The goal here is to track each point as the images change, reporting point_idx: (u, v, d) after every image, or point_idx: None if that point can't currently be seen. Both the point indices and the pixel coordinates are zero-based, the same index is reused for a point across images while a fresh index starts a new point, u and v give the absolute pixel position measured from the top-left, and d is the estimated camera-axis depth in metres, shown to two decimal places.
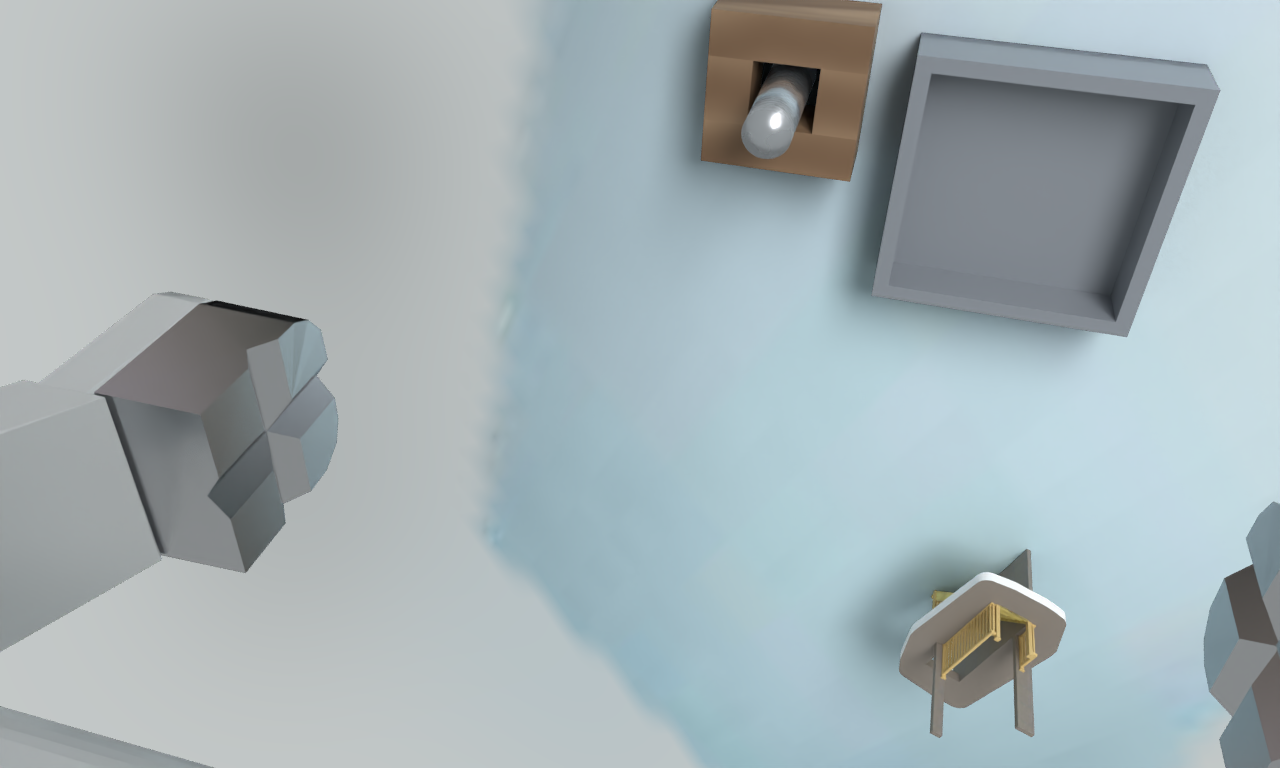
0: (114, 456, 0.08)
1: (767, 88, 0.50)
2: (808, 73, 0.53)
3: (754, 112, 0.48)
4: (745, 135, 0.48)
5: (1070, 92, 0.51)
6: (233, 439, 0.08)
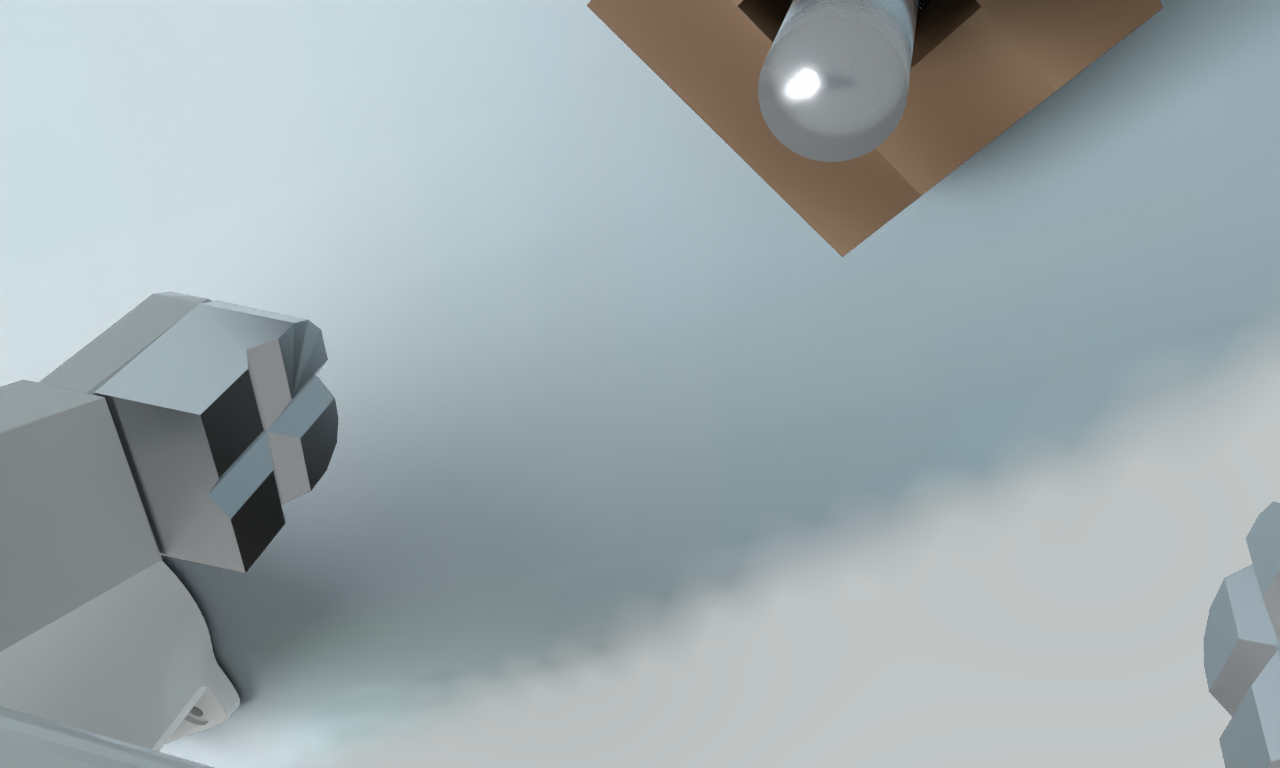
0: (113, 455, 0.08)
1: None
2: None
3: (816, 157, 0.17)
4: (880, 127, 0.17)
5: None
6: (232, 438, 0.08)
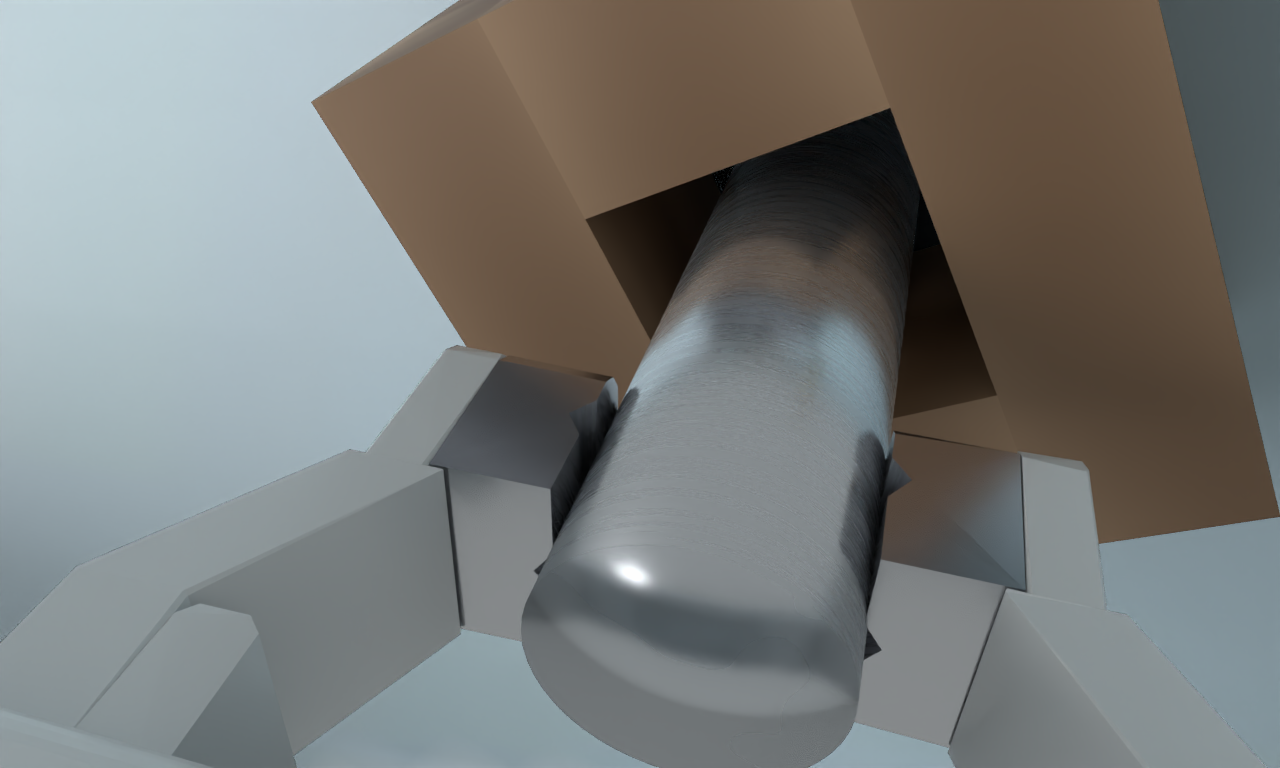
0: (440, 530, 0.08)
1: None
2: (729, 177, 0.12)
3: (612, 734, 0.08)
4: (760, 759, 0.07)
5: None
6: (563, 511, 0.08)
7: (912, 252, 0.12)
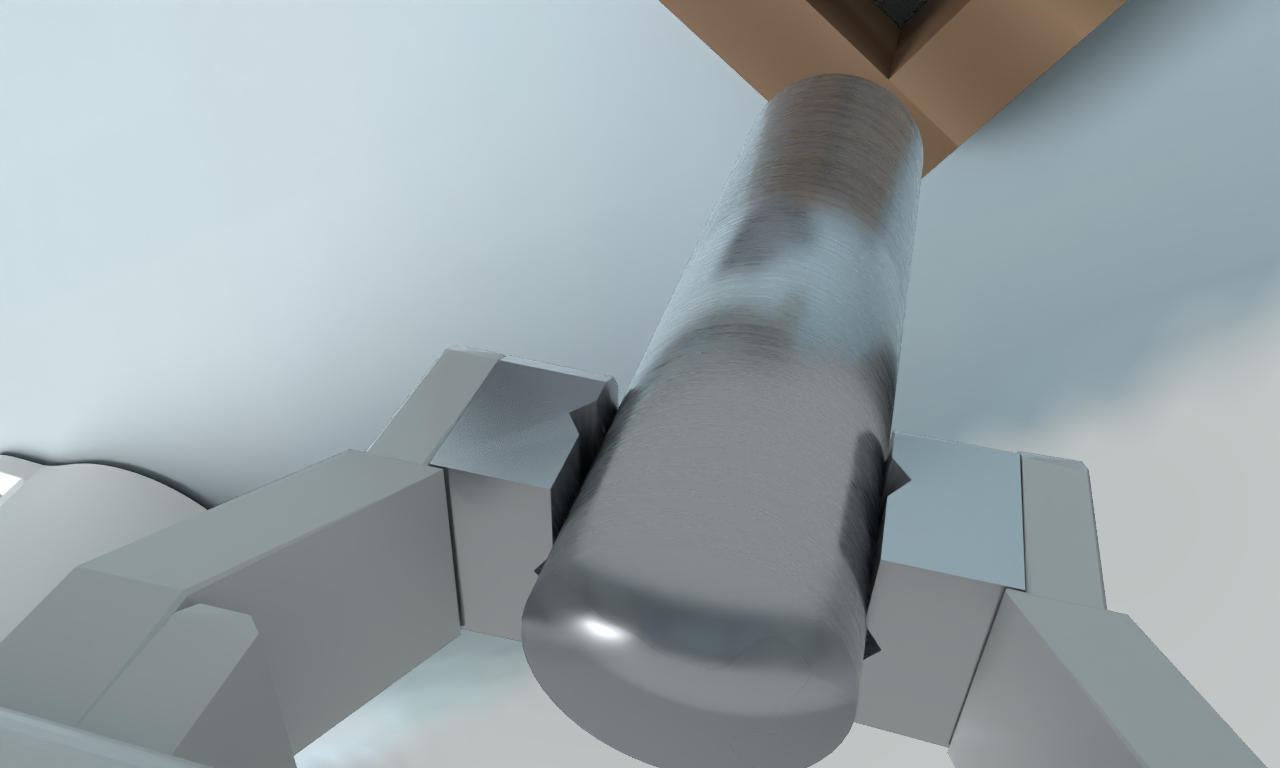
0: (440, 529, 0.08)
1: None
2: None
3: (612, 735, 0.08)
4: (760, 759, 0.07)
5: None
6: (563, 510, 0.08)
7: (911, 252, 0.12)
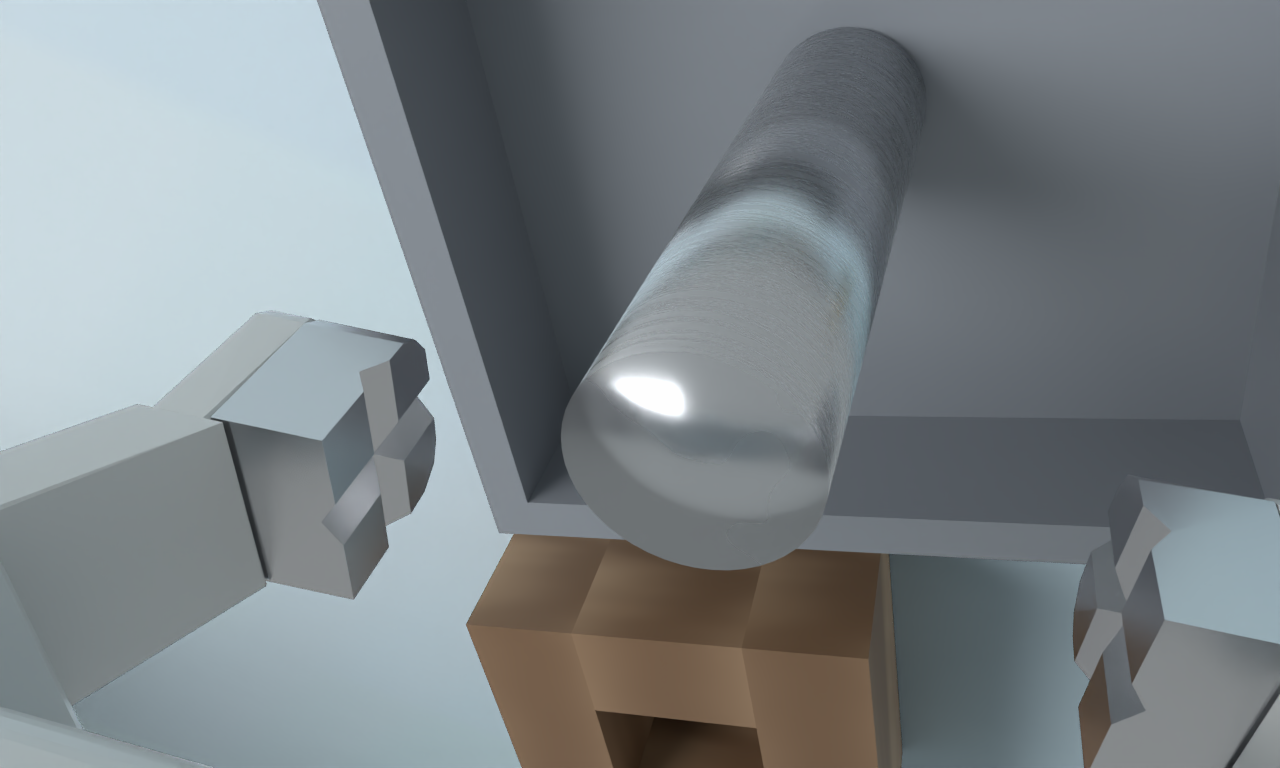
0: (228, 482, 0.08)
1: None
2: None
3: (632, 534, 0.10)
4: (751, 548, 0.09)
5: (544, 74, 0.17)
6: (348, 464, 0.08)
7: (907, 178, 0.13)
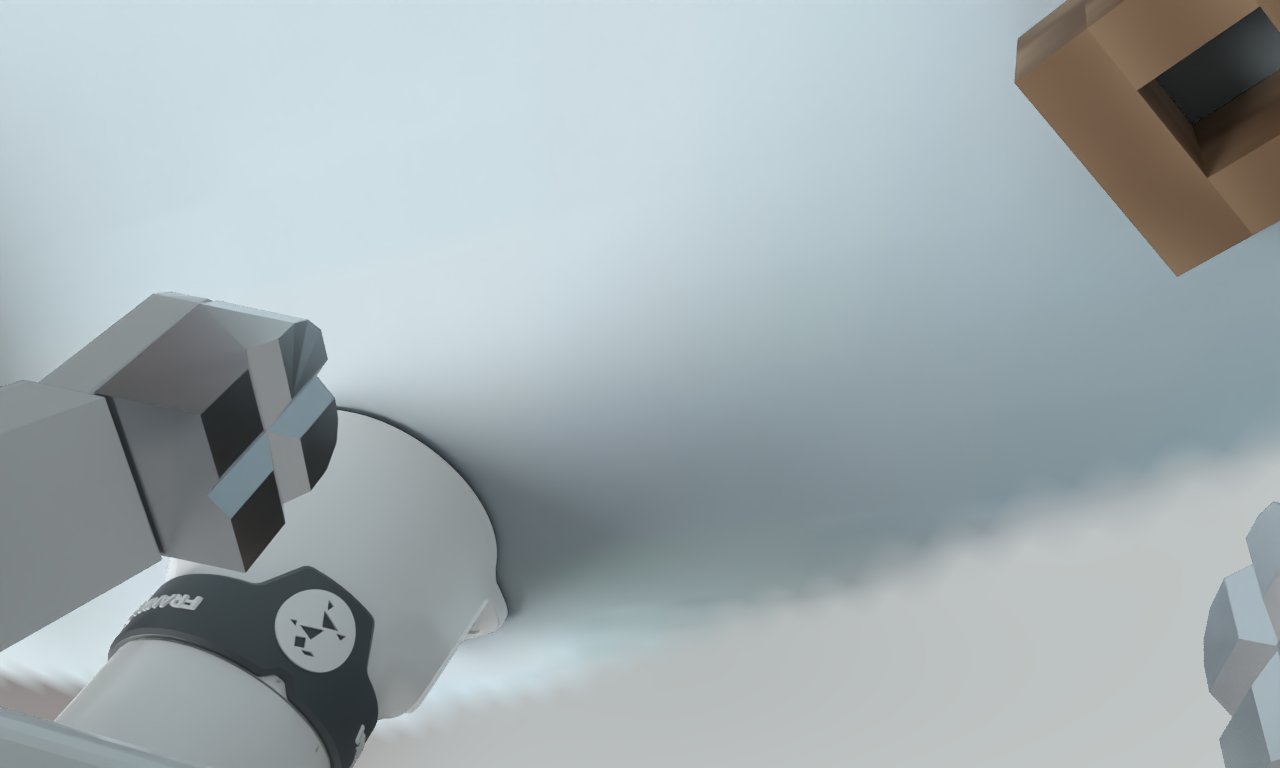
0: (114, 456, 0.08)
1: None
2: None
3: None
4: None
5: None
6: (233, 439, 0.08)
7: None
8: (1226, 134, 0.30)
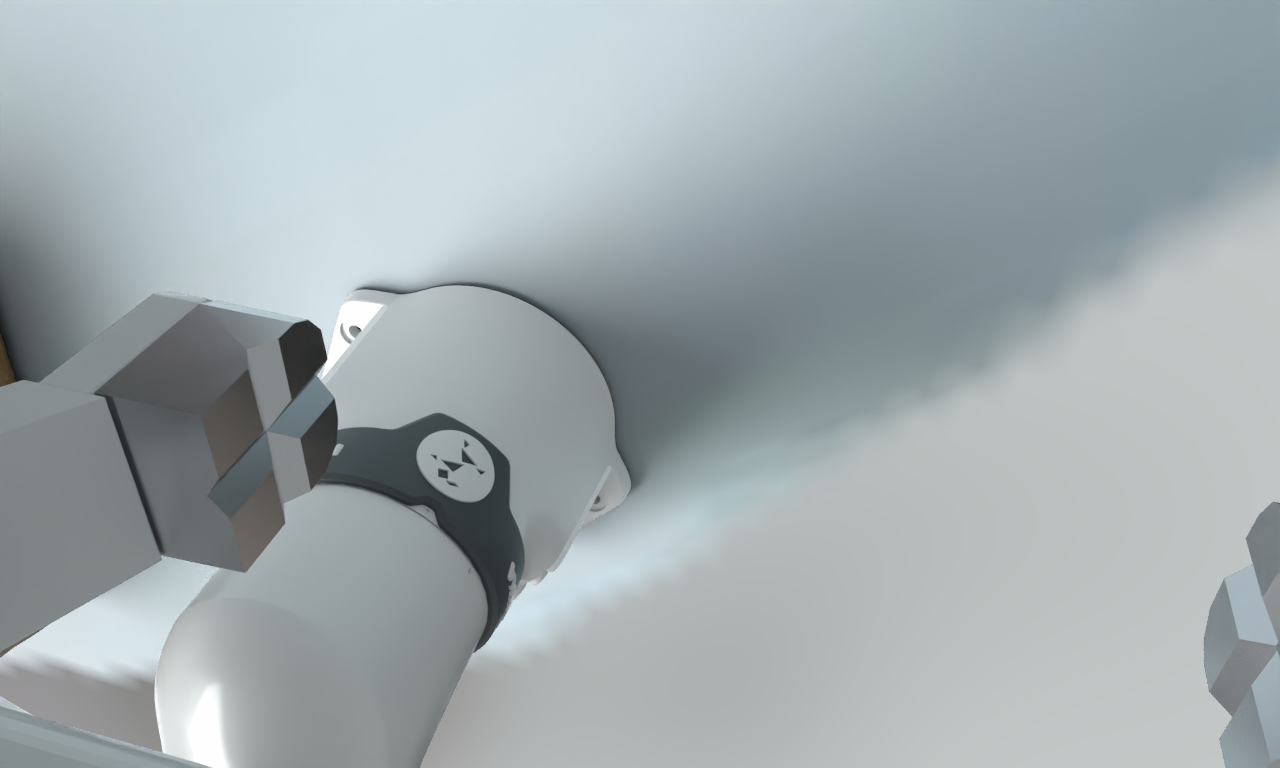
0: (114, 456, 0.08)
1: None
2: None
3: None
4: None
5: None
6: (233, 439, 0.08)
7: None
8: None
